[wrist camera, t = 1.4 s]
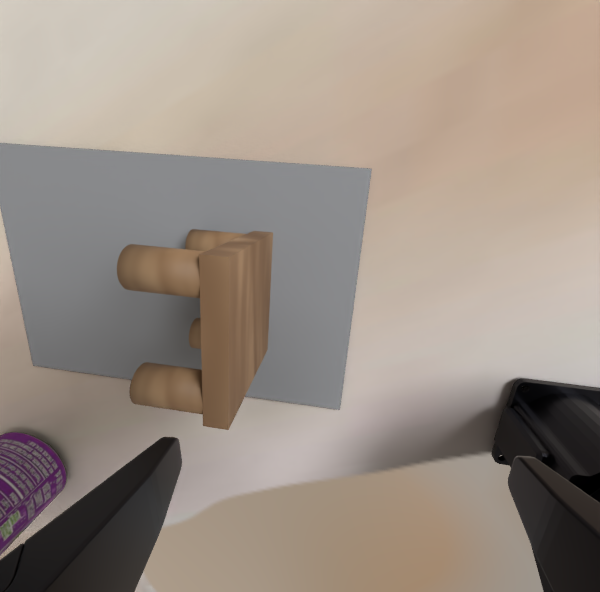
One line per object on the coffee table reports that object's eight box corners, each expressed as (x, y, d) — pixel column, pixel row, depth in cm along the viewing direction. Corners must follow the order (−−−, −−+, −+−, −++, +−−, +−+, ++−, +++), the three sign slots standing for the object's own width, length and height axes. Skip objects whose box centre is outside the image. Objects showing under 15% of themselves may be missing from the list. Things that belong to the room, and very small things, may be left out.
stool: (273, 232, 20) (229, 257, 12) (267, 349, 22) (228, 429, 15) (199, 225, 20) (113, 245, 13) (202, 341, 23) (131, 414, 15)
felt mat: (371, 169, 18) (371, 168, 18) (339, 407, 23) (339, 409, 23) (-9, 142, 21) (-14, 142, 21) (36, 363, 26) (33, 365, 26)
